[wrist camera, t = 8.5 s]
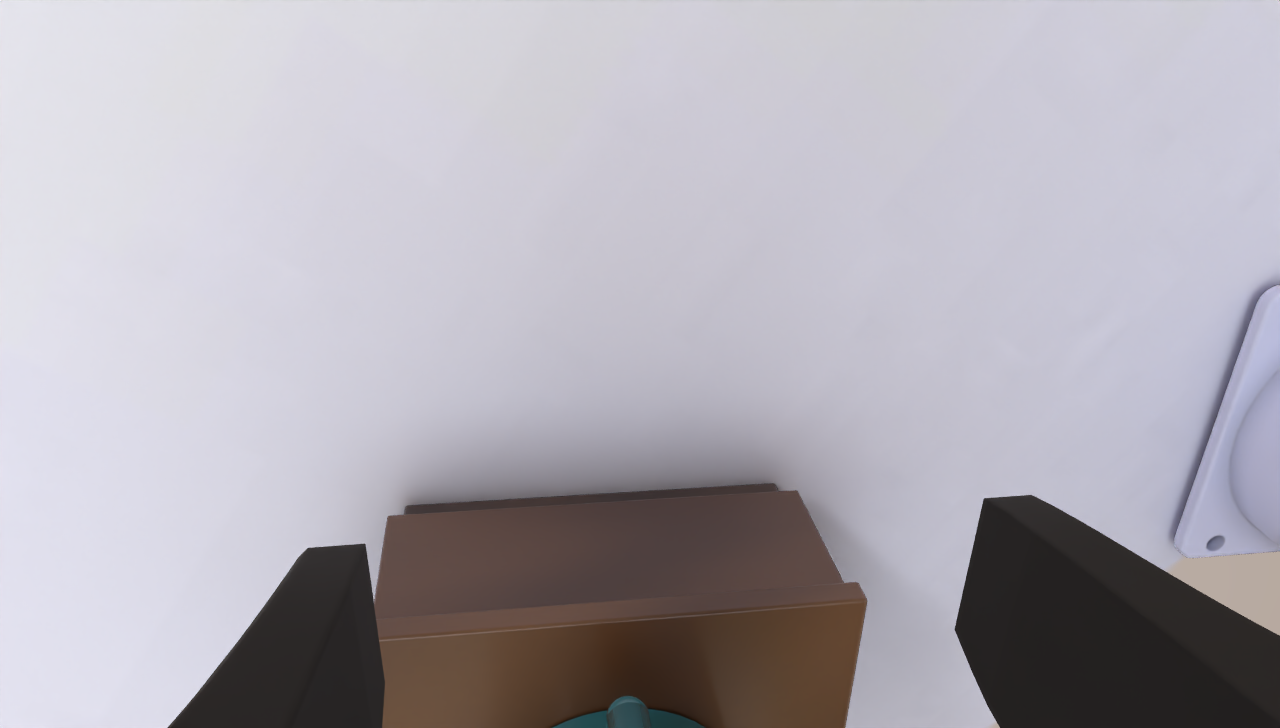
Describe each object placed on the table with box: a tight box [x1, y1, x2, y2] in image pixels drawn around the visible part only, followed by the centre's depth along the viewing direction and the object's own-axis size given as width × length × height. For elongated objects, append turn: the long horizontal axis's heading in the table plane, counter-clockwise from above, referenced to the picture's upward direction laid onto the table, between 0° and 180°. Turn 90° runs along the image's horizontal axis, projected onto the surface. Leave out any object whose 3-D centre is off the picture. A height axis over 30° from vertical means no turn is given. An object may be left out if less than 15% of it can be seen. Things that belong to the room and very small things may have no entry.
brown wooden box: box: [374, 483, 867, 728], centre depth 23 cm, size 10×10×5 cm
